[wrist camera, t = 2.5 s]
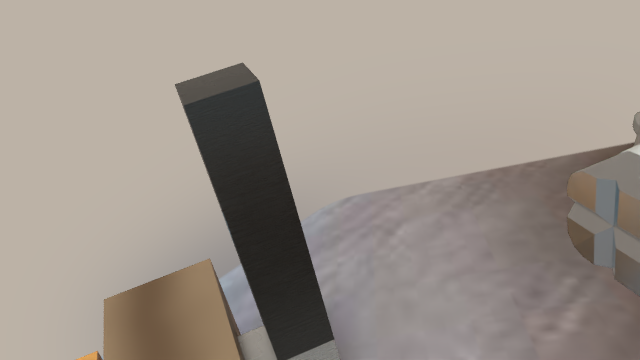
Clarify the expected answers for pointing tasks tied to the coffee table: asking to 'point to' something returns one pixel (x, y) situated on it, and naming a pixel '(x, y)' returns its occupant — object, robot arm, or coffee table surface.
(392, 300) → the coffee table surface
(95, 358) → the block
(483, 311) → the coffee table surface
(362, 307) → the coffee table surface
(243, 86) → the grey l-shaped piece
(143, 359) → the bearing block
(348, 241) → the coffee table surface
